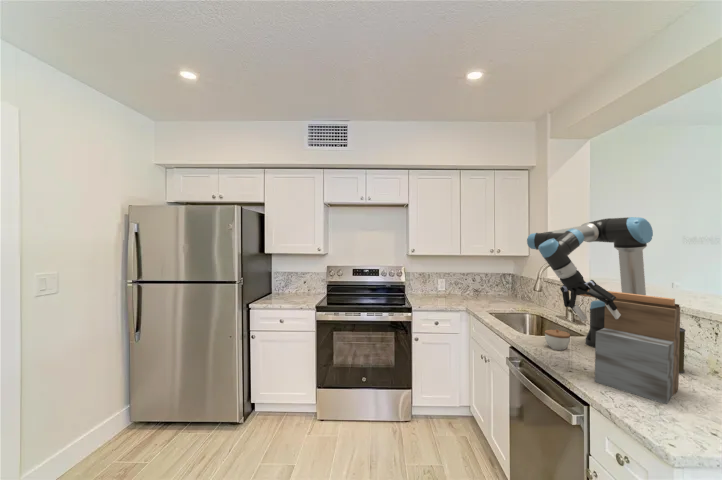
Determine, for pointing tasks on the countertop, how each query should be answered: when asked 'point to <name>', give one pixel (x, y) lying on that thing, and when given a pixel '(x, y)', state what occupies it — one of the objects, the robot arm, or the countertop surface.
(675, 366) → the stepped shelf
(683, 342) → the canister
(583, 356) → the countertop surface
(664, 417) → the countertop surface
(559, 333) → the lidded jar
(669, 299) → the terracotta bar
